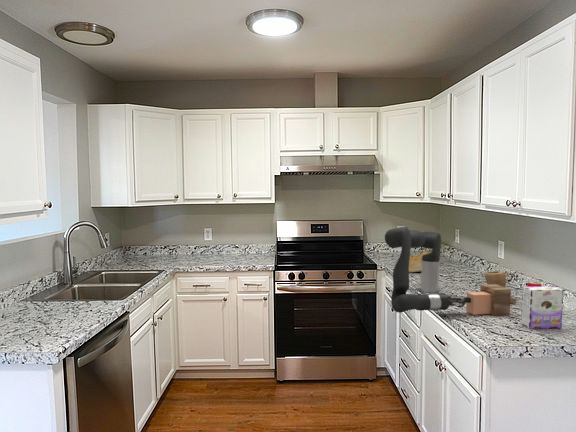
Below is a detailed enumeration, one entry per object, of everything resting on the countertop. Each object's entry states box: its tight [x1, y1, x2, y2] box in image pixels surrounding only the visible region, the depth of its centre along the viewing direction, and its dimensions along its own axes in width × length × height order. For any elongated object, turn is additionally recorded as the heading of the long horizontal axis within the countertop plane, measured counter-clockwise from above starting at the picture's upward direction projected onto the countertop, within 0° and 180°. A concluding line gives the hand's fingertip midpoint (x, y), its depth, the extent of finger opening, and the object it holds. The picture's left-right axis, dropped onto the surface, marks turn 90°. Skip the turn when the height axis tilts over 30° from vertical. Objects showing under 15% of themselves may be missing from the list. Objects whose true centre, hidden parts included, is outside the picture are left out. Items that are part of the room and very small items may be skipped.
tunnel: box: [479, 283, 512, 317], centre depth 183 cm, size 10×8×12 cm
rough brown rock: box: [409, 250, 432, 273], centre depth 274 cm, size 23×17×15 cm
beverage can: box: [526, 280, 543, 287], centre depth 193 cm, size 6×6×12 cm
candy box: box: [520, 286, 564, 329], centre depth 164 cm, size 14×6×16 cm, turn 92°
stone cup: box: [484, 270, 518, 304], centre depth 204 cm, size 15×12×15 cm
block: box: [465, 291, 492, 316], centre depth 182 cm, size 5×16×9 cm, turn 101°
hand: (469, 299), depth 180 cm, fingers closed
